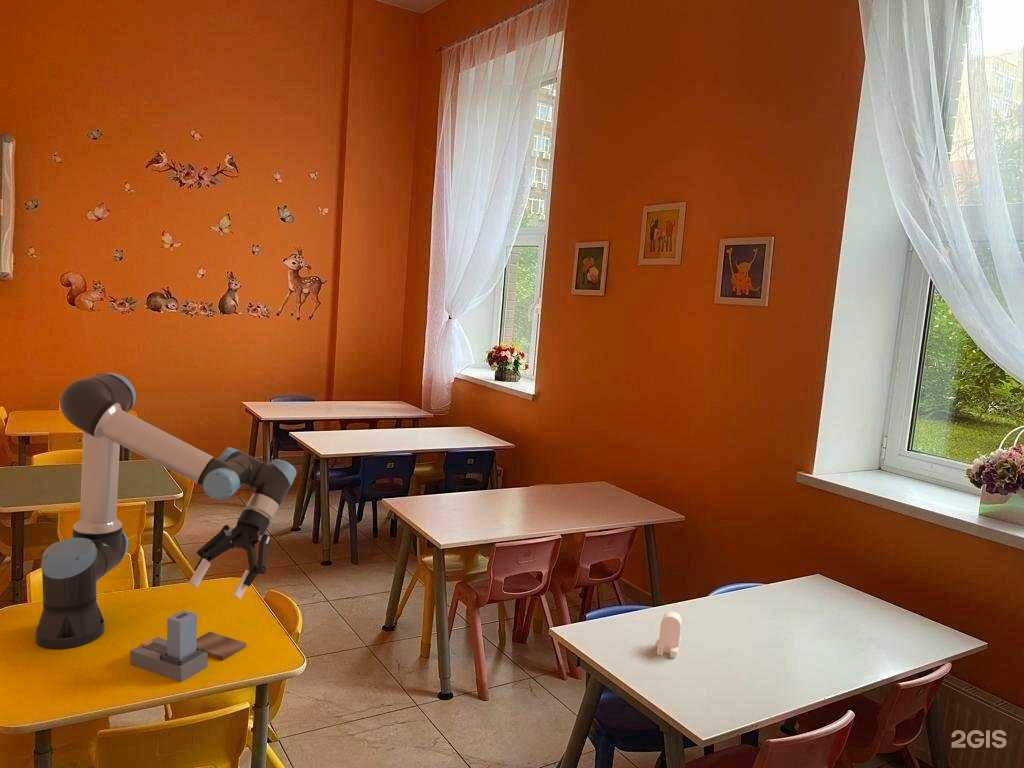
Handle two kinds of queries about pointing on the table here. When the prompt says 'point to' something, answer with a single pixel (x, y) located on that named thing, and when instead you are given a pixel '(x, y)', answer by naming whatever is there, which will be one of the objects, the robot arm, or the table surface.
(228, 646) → the walnut board
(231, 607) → the table surface
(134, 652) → the grey rectangular box
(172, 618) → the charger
